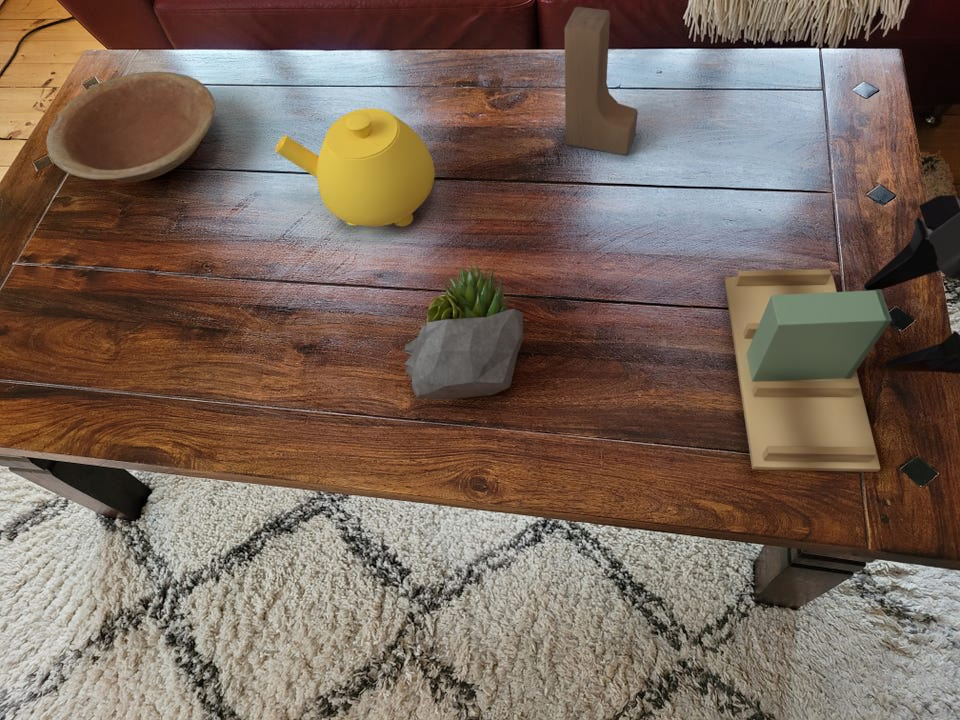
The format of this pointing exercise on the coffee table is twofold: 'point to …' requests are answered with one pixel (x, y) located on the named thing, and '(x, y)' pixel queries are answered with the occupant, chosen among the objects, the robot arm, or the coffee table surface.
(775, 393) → the rack
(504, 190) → the coffee table surface
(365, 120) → the teapot
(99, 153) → the bowl
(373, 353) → the coffee table surface
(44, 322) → the coffee table surface
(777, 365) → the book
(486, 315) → the potted plant
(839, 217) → the coffee table surface
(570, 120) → the wooden block
